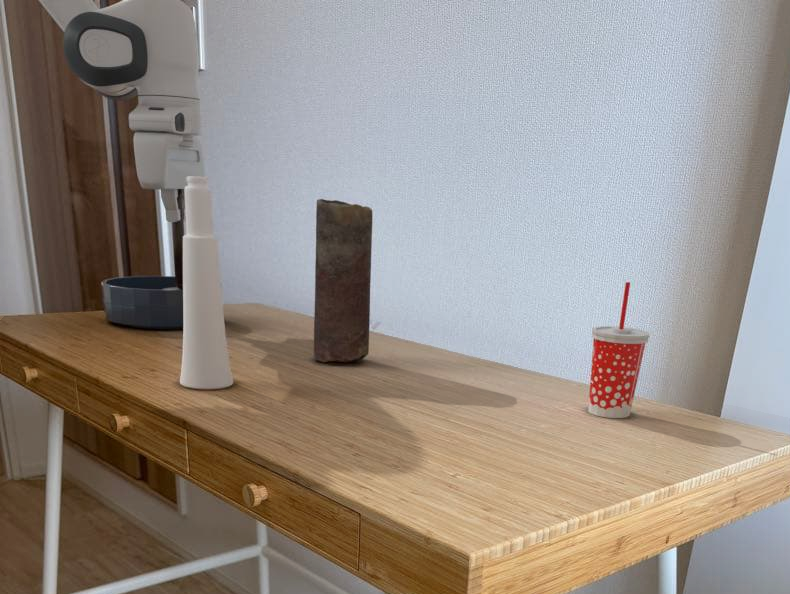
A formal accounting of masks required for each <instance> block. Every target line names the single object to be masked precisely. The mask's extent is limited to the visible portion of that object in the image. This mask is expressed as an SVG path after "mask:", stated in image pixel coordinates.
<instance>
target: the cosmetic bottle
mask: <svg viewBox="0 0 790 594" xmlns="http://www.w3.org/2000/svg"><path fill="white" fill-rule="evenodd" d="M186 181H188V186H185V189H184V193H185V212H186V221H185V229H186V231H185V232H186V234H184V236H183V329H182V330H183V331H182V332H183V333H182V334H183V335H182V355H181V368H180V377H179V384H180V385H181V386H182V387H184V388H188V389H193V390H208V391H209V390H220V389H221V390H222V389H226V388H229V387H231V386H233V385H234V377H233V373H232V369H231V363H230V356H229V350H228V343H227V335H226V325H225V313H224V304H223V302H224V301H223V288H222V289H221V283H222V279H221V278H222V277H221V265H220V254H219V253H220V252H219V245H218V237H217V236H216V235H214V227H213V226H214V224H213V205H212V203H213V202H212V201H213V200H212V189H211V187H209V186H208V183H209V178H208V177H206V176H205V177H193V176H188V177H186Z"/></svg>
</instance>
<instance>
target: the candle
mask: <svg viewBox="0 0 790 594" xmlns="http://www.w3.org/2000/svg"><path fill="white" fill-rule="evenodd" d="M315 213H316V216H315V220H316V221H315V265H314V268H315V271H314V273H315V275H314V277H315V278H314V314H313V315H314V316H313V317H314V319H313V320H314V321H313V360H314V361H315V362H321V363H328V362H338V363H349V362H357V361H358V362H359V361H361V360H363V359H365V357H367V356H368V355H369V354H370V353H369V352H370V319H371V318H370V316H371V281H372V280H371V279H372V277H371V276H372V249H373V248H372V247H373V246H372V245H373V243H372V242H373V217H374V216H373V215H374V213H373V209H372V208H371V207H369V206H362V205H361V204H357V203H354V204H351V203H348V202H346V201H341V200H335V199H333V200H329V199H324V198H318V199H317V200H316V212H315Z"/></svg>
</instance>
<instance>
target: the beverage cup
mask: <svg viewBox="0 0 790 594" xmlns="http://www.w3.org/2000/svg"><path fill="white" fill-rule="evenodd" d="M630 288H631V282H629V281H625V286H624V291H623V298H622V305H621V310H620V311H621V313H620V318H619V326H610V325H609V326H606V325H604V326H595V327H592V329H591V333H592V334H591V338H592V339H593V341H592V344H593V345H592V355H591V369H590V381H589V395H588V408H587V409H588V410H587V412H588V413H589V414H590V415H591V414H592V415H594V416H596V417H602V418H608V419H625V418H628V417H630V415H631V411H632V406H633V402H634V397H635V393H636V388H637V383H638V380H639V375H640V371H641V366H642V363H643V362H642V361H643V357H644V352H645V348H646V344H647V343H649V338H650V336H651V335H650V334H651V333H650V332H649V331H647V330H643V329H639V328H633V327H625V323H626V322H625V321H626V316H627V315H626V314H627V309H628V300H629V294H630Z"/></svg>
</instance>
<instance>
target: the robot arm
mask: <svg viewBox="0 0 790 594" xmlns="http://www.w3.org/2000/svg"><path fill="white" fill-rule="evenodd" d="M38 1H39V3H41V5H42V6H43V7H44V9H45V10H46V11H47V12H48V14H49V15H50V17H52V19H53V20H54V22H55V23H56V24H57V26H58V27H59V28H60V29H61V30H62V32H63V36H62V52H63V56H64V59H65V61H66V63H67V65H68V67H69V68H70V70H71V71H72V73H73V74H74V75H75V76H76V77H77V78H78V79H79V80H80V81H81V82H83V83H84V84H85V85H86V86H88V87H90V88H92V89H93V90H94V91H96V93H98V94H99V95H101V96H102V97H104V98H106V99H109V100H112V101H119V102H121V101H122V102H123V101H128V100H131V99H133V98H135V97H136V96H137V101H138V104H137V105H136V107H135V109H133V110H132V111H130V112H129V114H128V126H129V129H130V130H131V132H132V131H133V132H134V134H133V151H134V153H133V154H134V160H135V161H134V162H135V167H136V168H135V169H136V174H137V180H138V182H139V184H140V186H141V189H145V190H160V199H161V201H162V204H163V207H164V209H165V220H166V221H167V222H168V223H172V222H179V221H180V220H181V217H180V210H178V203H177V197H178V190H177V189H182V202H183V219H184V222H186V212H185V193H184V189H185V186H188V181H186V177H188V176H193V177H206V169H205V158H204V148H203V143H202V141H201V139H200V138H199V136H202V135H203V120H202V119H203V117H202V98H201V94H200V90H199V86H198V75H199V70H200V56H199V55H200V54H199V44H198V34H197V26H196V21H195V17H194V16H195V15H194V13H193V10H192V9H191V8H190V7H189V5H188V4H187V2H185V0H120V1H119V2H116V3H114V4H111V5H108V6H106V7H103V8H102V7H101V8H100V7H99V6H98V4H97V3H96V2H95V1H94V0H38ZM197 136H198V137H197Z"/></svg>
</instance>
